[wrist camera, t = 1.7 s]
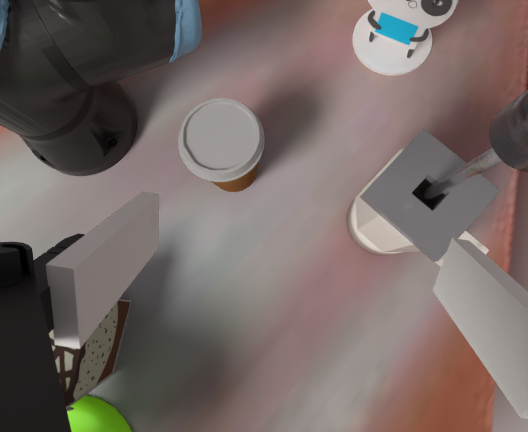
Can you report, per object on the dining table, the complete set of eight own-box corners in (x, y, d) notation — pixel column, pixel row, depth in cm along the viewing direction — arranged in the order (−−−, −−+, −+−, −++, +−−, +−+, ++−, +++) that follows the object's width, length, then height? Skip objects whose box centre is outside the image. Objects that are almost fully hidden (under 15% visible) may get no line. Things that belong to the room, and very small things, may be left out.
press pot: (332, 222, 46) (357, 194, 31) (377, 174, 47) (423, 125, 32) (406, 289, 44) (472, 294, 29) (451, 238, 45) (538, 217, 30)
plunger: (396, 194, 31) (531, 97, 15) (425, 164, 32) (588, 34, 15) (431, 224, 31) (615, 159, 14) (460, 193, 31) (672, 91, 14)
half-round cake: (91, 279, 47) (41, 280, 37) (135, 289, 46) (95, 291, 36) (64, 375, 44) (3, 403, 35) (110, 386, 44) (61, 417, 34)
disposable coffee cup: (200, 139, 49) (175, 96, 38) (266, 136, 49) (262, 91, 37) (200, 205, 48) (174, 180, 36) (269, 202, 47) (265, 176, 36)
